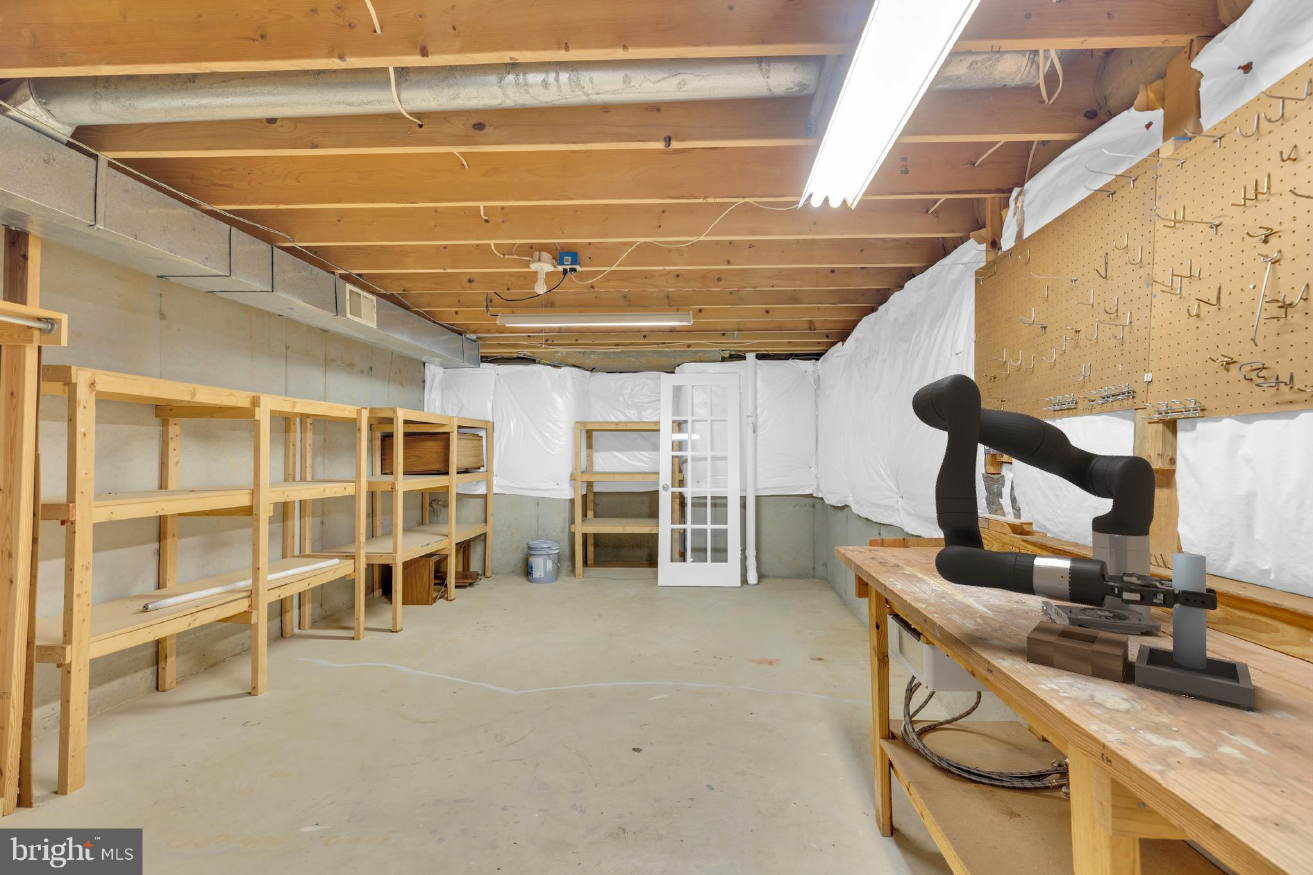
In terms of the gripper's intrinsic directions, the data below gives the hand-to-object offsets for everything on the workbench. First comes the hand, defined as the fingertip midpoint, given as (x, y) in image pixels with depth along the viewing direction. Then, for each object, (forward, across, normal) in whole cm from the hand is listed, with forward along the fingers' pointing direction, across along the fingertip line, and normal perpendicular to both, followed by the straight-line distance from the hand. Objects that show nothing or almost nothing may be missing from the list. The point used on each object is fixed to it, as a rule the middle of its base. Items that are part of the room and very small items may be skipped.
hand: (1215, 599), depth 81 cm
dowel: (-3, 0, +10) cm, 10 cm away
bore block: (-16, 0, +13) cm, 21 cm away
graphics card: (-15, +24, +14) cm, 32 cm away
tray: (-3, 0, +13) cm, 13 cm away
